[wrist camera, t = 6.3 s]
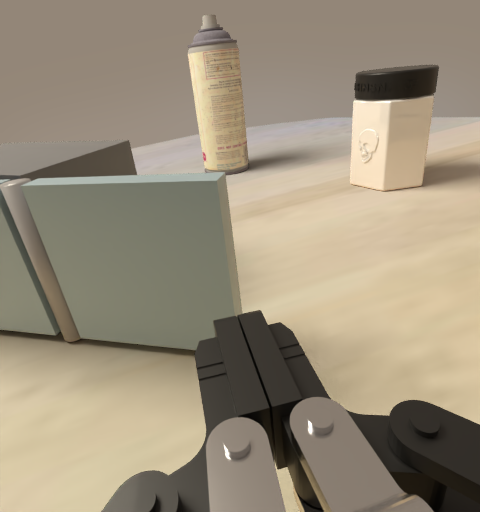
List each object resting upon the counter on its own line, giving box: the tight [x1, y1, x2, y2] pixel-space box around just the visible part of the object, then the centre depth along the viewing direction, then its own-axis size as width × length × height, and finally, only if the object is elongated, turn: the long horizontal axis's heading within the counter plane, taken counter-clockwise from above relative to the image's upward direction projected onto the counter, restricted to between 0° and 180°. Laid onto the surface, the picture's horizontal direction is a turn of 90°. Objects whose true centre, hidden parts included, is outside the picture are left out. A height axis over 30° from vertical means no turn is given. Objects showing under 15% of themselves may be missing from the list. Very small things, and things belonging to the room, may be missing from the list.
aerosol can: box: [188, 15, 249, 175], centre depth 51 cm, size 7×7×20 cm
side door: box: [0, 172, 242, 350], centre depth 20 cm, size 20×1×10 cm, turn 76°
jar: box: [350, 65, 439, 191], centre depth 41 cm, size 9×8×12 cm
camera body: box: [0, 140, 137, 181], centre depth 28 cm, size 16×9×11 cm, turn 66°
